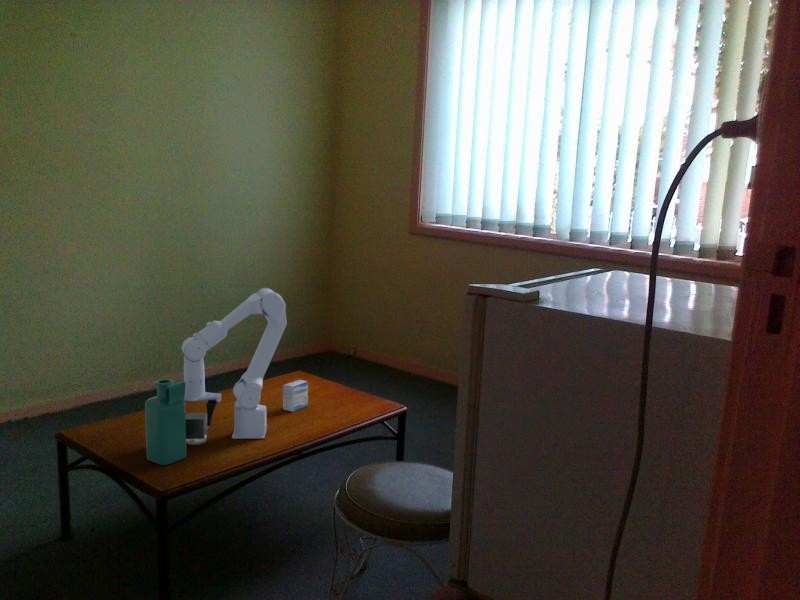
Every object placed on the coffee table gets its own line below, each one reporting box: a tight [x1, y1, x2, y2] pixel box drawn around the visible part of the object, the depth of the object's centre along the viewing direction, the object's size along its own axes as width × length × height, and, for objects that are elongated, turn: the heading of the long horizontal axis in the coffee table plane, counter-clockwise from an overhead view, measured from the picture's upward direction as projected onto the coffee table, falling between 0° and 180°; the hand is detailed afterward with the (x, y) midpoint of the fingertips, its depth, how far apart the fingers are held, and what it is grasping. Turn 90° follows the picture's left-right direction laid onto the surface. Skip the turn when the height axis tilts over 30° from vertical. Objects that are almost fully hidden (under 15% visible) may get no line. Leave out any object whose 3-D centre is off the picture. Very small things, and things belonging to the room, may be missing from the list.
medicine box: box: [282, 379, 309, 413], centre depth 236 cm, size 8×4×9 cm, turn 148°
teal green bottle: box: [144, 378, 187, 466], centre depth 191 cm, size 10×8×22 cm
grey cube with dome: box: [185, 412, 208, 439], centre depth 205 cm, size 6×6×6 cm
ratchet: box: [186, 426, 210, 446], centre depth 211 cm, size 17×6×5 cm, turn 5°
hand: (195, 425), depth 205 cm, fingers open, 7 cm apart
